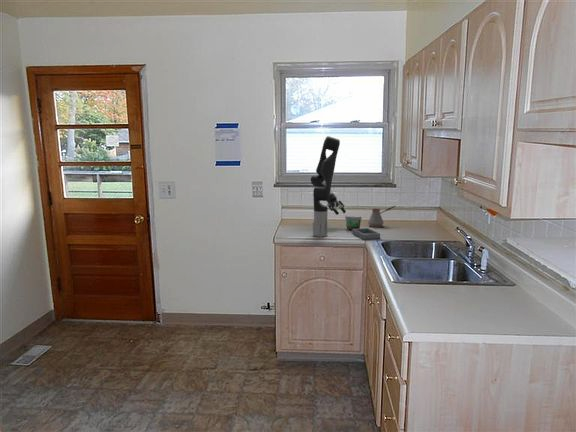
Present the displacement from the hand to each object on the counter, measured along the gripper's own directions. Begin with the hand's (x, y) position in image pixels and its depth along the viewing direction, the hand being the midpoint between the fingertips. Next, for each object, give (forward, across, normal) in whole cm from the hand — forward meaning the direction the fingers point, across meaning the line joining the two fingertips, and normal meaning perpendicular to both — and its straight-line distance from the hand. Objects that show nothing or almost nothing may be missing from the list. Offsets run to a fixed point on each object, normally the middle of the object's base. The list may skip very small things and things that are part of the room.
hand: (341, 213), depth 317 cm
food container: (+15, 0, +1) cm, 15 cm away
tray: (+27, -9, -12) cm, 31 cm away
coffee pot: (+20, +27, -4) cm, 34 cm away
